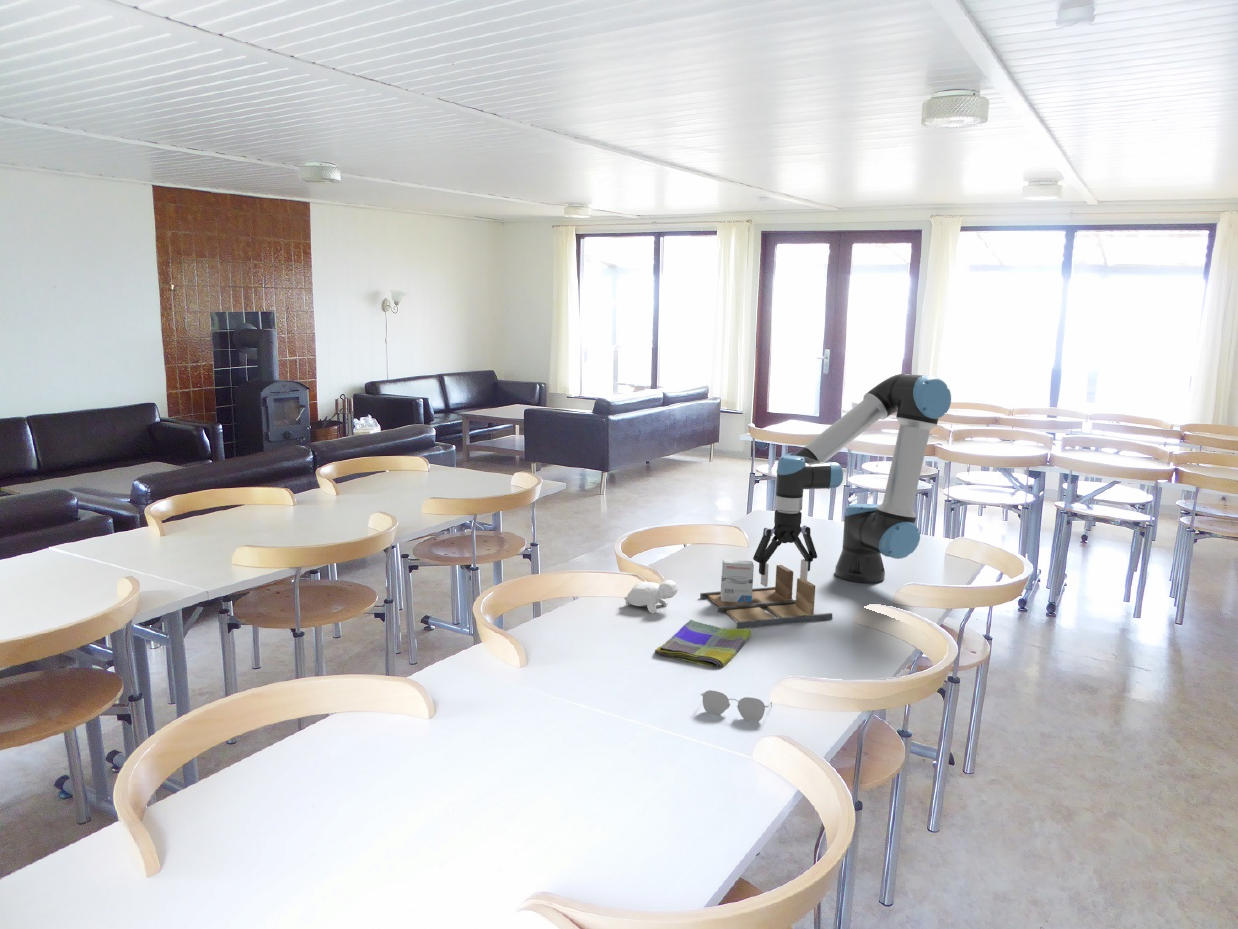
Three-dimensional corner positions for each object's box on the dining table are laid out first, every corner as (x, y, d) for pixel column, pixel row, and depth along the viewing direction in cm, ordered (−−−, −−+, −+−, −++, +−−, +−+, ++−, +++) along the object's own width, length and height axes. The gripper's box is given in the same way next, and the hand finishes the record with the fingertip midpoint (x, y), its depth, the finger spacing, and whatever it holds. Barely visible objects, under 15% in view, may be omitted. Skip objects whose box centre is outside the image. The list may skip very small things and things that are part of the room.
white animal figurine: (627, 619, 233) (674, 609, 226) (618, 590, 233) (664, 579, 226) (642, 610, 241) (687, 600, 233) (633, 582, 241) (678, 571, 233)
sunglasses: (698, 712, 173) (700, 688, 173) (708, 702, 181) (710, 679, 181) (766, 725, 168) (768, 700, 168) (773, 714, 176) (775, 690, 176)
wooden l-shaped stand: (797, 606, 238) (799, 576, 236) (816, 618, 228) (818, 587, 227) (726, 613, 231) (727, 582, 229) (742, 625, 222) (744, 593, 220)
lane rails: (786, 590, 251) (787, 585, 251) (832, 619, 228) (832, 613, 228) (700, 598, 243) (700, 593, 243) (737, 628, 220) (738, 623, 219)
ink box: (749, 600, 242) (752, 560, 240) (751, 605, 237) (754, 564, 235) (719, 598, 242) (722, 558, 241) (721, 603, 237) (723, 562, 236)
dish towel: (754, 638, 214) (755, 628, 214) (720, 673, 193) (721, 661, 193) (690, 626, 222) (691, 615, 222) (651, 657, 201) (651, 646, 201)
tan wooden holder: (777, 592, 249) (778, 563, 247) (794, 603, 239) (796, 573, 238) (708, 598, 242) (709, 568, 241) (723, 609, 233) (724, 578, 231)
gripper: (818, 505, 247) (814, 576, 250) (743, 509, 239) (739, 582, 243) (832, 511, 240) (827, 584, 243) (755, 515, 232) (751, 590, 236)
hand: (783, 583), depth 243 cm, fingers open, 12 cm apart
